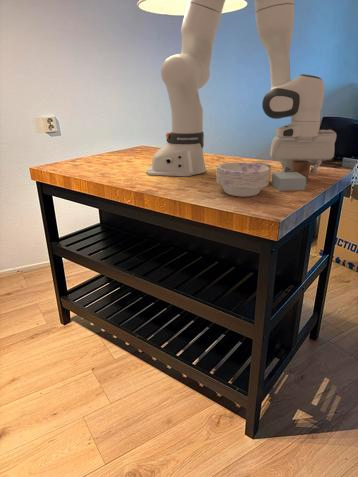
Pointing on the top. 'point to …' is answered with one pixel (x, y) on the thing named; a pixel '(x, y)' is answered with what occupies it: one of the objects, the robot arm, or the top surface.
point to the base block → (288, 181)
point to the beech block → (265, 165)
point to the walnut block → (301, 167)
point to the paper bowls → (242, 178)
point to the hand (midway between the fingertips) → (299, 172)
